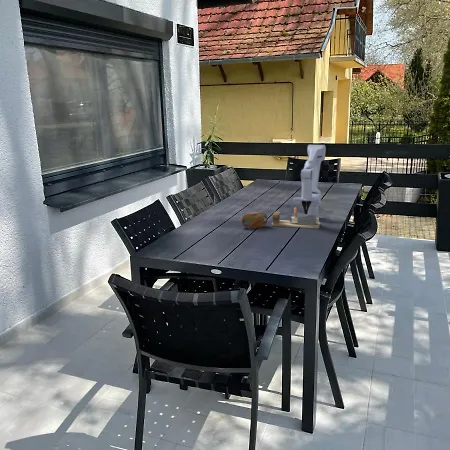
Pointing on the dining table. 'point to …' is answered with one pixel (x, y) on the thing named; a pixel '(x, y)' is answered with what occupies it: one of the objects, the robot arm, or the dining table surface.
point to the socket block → (276, 217)
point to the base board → (294, 224)
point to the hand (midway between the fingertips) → (306, 214)
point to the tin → (254, 220)
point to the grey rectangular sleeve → (306, 219)
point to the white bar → (295, 218)
